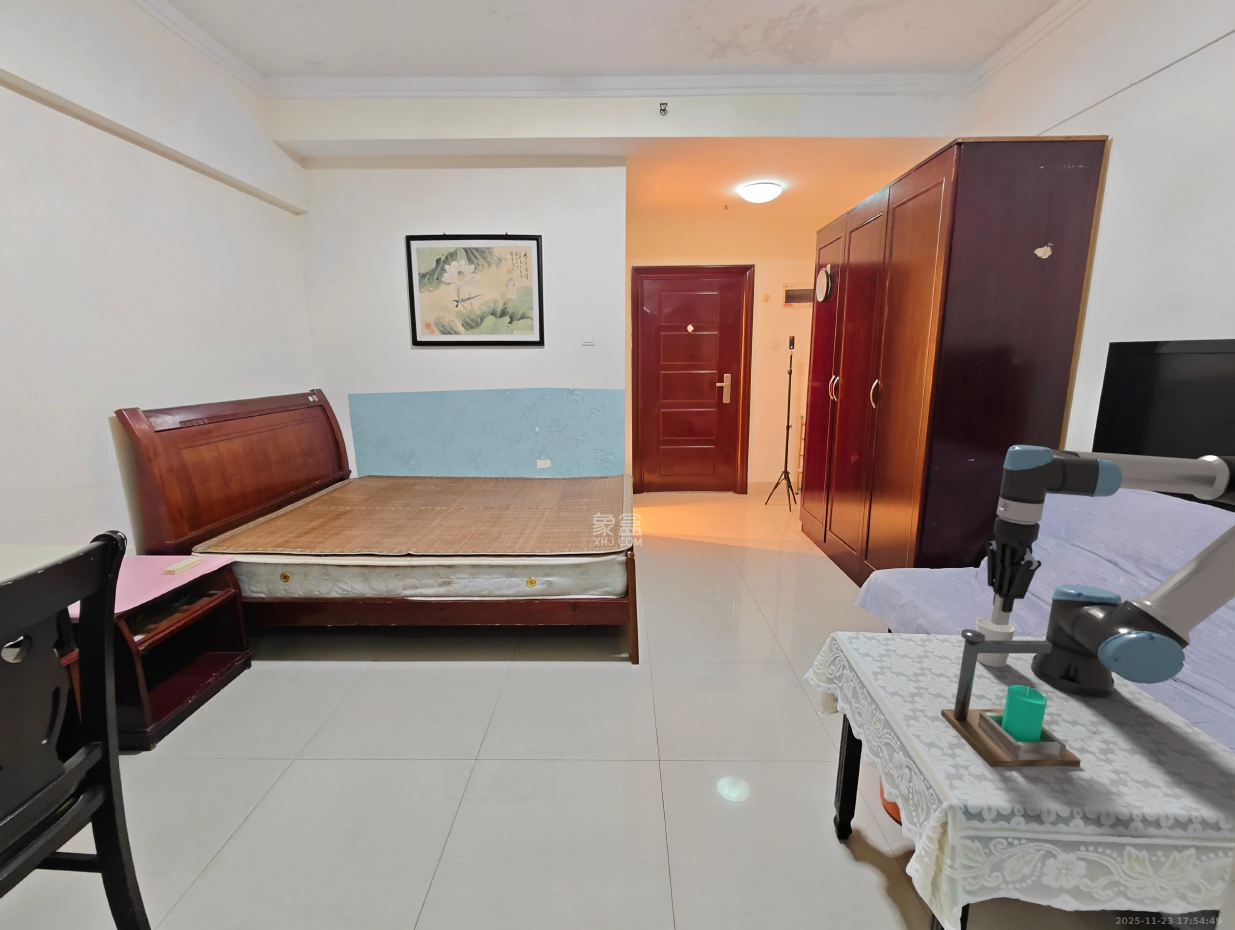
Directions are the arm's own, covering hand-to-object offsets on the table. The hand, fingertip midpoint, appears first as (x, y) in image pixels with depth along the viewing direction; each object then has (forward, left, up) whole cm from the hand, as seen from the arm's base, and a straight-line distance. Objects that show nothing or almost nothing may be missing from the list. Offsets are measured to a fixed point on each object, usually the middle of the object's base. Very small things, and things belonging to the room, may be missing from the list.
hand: (999, 623), depth 116 cm
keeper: (+5, +8, -17) cm, 19 cm away
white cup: (-12, -16, -19) cm, 28 cm away
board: (+5, +13, -19) cm, 23 cm away
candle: (+5, +15, -18) cm, 23 cm away
